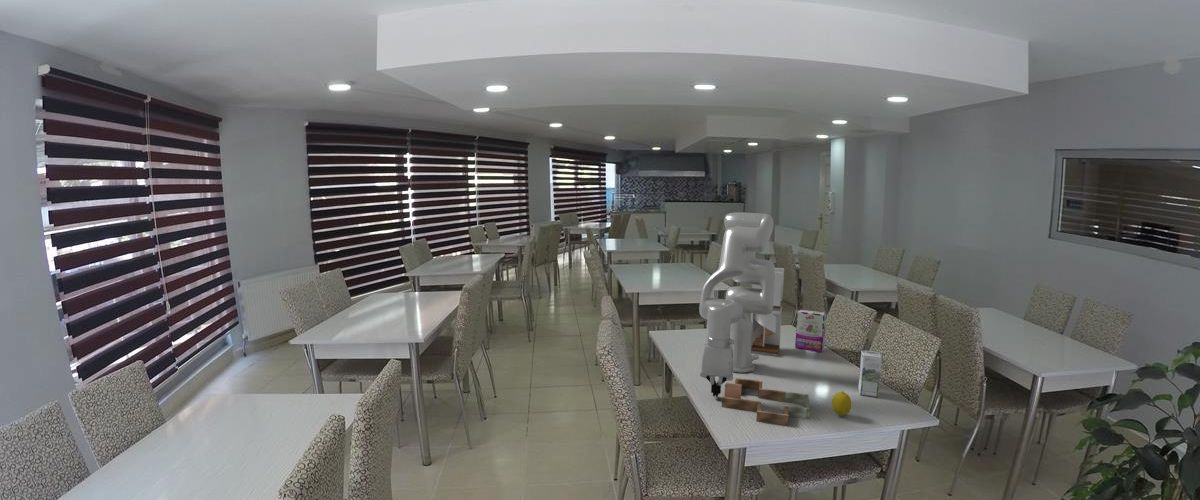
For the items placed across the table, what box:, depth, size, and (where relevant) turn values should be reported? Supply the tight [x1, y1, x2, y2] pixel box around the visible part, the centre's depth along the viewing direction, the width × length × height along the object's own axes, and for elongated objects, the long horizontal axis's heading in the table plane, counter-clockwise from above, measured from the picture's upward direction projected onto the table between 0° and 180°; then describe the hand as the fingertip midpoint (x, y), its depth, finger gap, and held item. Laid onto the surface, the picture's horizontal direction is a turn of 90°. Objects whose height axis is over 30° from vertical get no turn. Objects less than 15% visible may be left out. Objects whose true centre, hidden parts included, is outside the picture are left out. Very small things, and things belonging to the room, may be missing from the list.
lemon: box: [831, 391, 852, 417], centre depth 170 cm, size 6×6×8 cm
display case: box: [750, 267, 785, 358], centre depth 229 cm, size 11×11×35 cm
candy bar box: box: [794, 309, 827, 354], centre depth 234 cm, size 11×5×16 cm, turn 58°
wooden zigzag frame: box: [721, 377, 811, 426], centre depth 178 cm, size 26×26×3 cm
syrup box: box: [857, 349, 883, 398], centre depth 188 cm, size 6×6×14 cm
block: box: [723, 382, 742, 399], centre depth 181 cm, size 5×5×5 cm
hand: (715, 395), depth 183 cm, fingers closed
